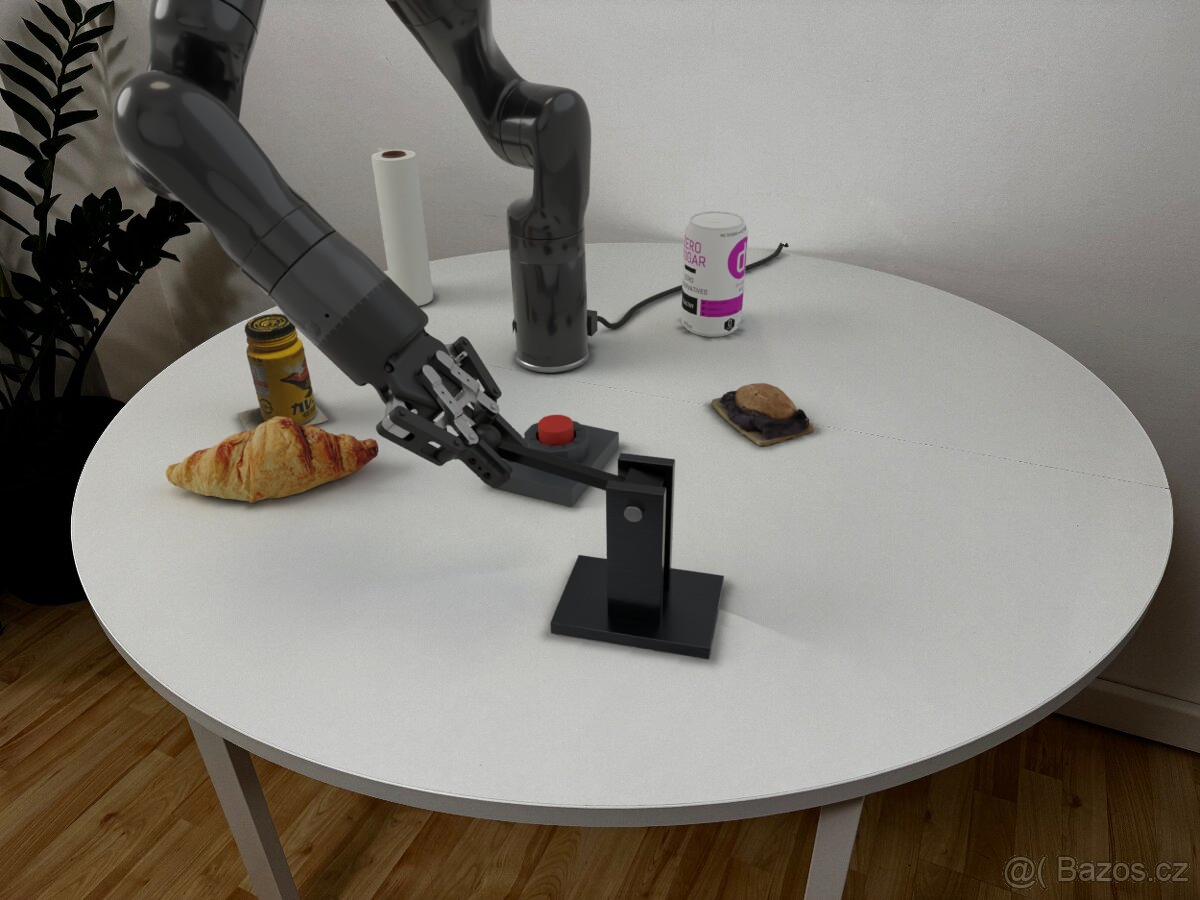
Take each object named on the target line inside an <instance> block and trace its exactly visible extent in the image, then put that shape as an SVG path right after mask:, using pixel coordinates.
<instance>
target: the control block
mask: <svg viewBox="0 0 1200 900" xmlns="http://www.w3.org/2000/svg"><path fill="white" fill-rule="evenodd" d="M544 417H545V416H543V417H542V418H544ZM572 421H573V431H574V438H573V440H572V441H571V442H569V443H567V444H564V445H556V446H552V445H547V444H543V443H541V442H540V440H539V433H538V422H536V423H533V424H531V425H530V426H529V427H528V428H527V429H526V431H524V433H523V434H524V435H523V436H524V437H523V439H524V440H525V441H526V442H527V443H528V445H529V448H530V449H534V450H537V451H540V452H543V453H547V454H550V455H553V456H556V457H559V458H563V459H566V460H569V461H572V462H576V463H579V464H582V465H585V466H589V467H592V468H595V469H598V470H601V471H603V469H604V467H605V466H606V465H607V464H608V462H609V461H610V460H611V458H612V457H613V456H614V455H615V453H616V452H617V451H618V450H619V448H620V433H619V431H615V430H611V429H606V428H601V427H596V426H591V425H587V424H582V423H580V422H578V421H577V420H572ZM503 460H504V461H505V462H506V463H507V464H508V465H509V466H510V467H511V468H512V469H513V475H512V476H511V478H510V479H509V480H508V481H507V482H506V483H504V484H503V485H502V486H500V487H499V488H496V489H498V490H500V491H505V492H508V493H513V494H518V495H521V496H524V497H529V498H533V499H538V500H540V501H546V502H550V503H553V504H558V505H561V506H565V507H568V508H573V507H574V506H575V504H576V503H577V502H578V501H579V499H580V498H581V496H583V494H584V493H585V492H586V490H587V489H588V488H589V487H590V486H589V485H586V484H582V483H579V482H576V481H573V480H570V479H566V478H563V477H560V476H557V475H554V474H550V473H547V472H544V471H541V470H538V469H534V468H531V467H528V466H525V465H521V464H518V463H515V462H514V463H510V462H508V461H507V460H505V459H503Z"/></svg>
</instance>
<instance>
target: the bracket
mask: <svg viewBox="0 0 1200 900" xmlns="http://www.w3.org/2000/svg"><path fill="white" fill-rule="evenodd" d="M630 468H634V469H637V470H640V471H643V472H647V473H650V474H653V475H656V476H660V477H663V478H664V481H663V485H662V487H657V486H649V485H641V484H633V483H625V482H617V481H608V483H607V486H606V491H605V529H606V530H605V534H606V536H605V537H606V541H605V543H606V558H603V557H598V556H592V555H591V556H589V555H583V554H578V555H577V558H576V560H575V562H574V565H573V567H572V570H571V572H570V574H569V577H568V580H567V582H566V584H565V586H564V589H563V591H562V593H561V596H560V599H559V600H558V603H557V606H556V607H555V610H554V612H553V614H552V618H551V620H550V622H549V624H550V625H549V626H550V634H551V635H559V636H564V637H570V638H576V639H583V640H589V641H596V642H601V643H606V644H607V643H608V644H612V645H618V646H619V645H620V646H626V647H633V648H637V649H644V650H649V651H656V652H662V653H668V654H673V655H680V656H686V657H691V658H698V659H704V660H710V658H711V653H712V648H713V641H714V637H715V633H716V626H717V621H718V617H719V611H720V605H721V600H722V595H723V591H724V583H725V575H721V574H715V573H710V572H703V571H702V572H701V571H695V570H687V569H681V568H674V567H672V565H673V564H672V560H673V558H672V557H673V537H674V536H673V534H674V533H673V532H674V530H673V529H674V508H675V507H674V506H675V502H674V501H675V478H676V459H675V458H669V457H659V456H651V455H643V454H642V455H641V454H635V453H626V452H620V453H619V455H618V458H617V475H618V476H621V477H624V478H626V476H627V474H628V471H629V469H630Z"/></svg>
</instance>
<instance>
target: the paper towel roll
mask: <svg viewBox="0 0 1200 900" xmlns="http://www.w3.org/2000/svg"><path fill="white" fill-rule="evenodd" d="M417 158H418V157H417V153H416V152H415V151H413V150H409V149H402V148H383V147H378V151H377V152H375V153H373V154H371V164H372V170H373V177H374V178H373V179H374V185H375V193H376V197H377V198H376V200H377V205H378V211H379V212H378V213H379V217H380V225H381V233H382V237H383V245H384V246H383V247H384V253H385V258H386V266H387V272H388V273H387V274H388V276H389V277H390V278H391V279H392V280H393V281H394V282H395V283H396V284H397V285H398V286H399V287H400V288H401V289H402V290H403V291H404V292H405V293H406V294H407V295H408V296H409V297H410V298H411V299H412V300H413V301H414V302H415V303H416V304H417V305H418V306H419V307H420V306H424V305H426V304H429V303H431V302H432V301H433V300H434V292H433V291H434V290H433V284H432V282H433V281H432V275H431V268H430V267H431V266H430V265H431V264H430V258H429V250H428V249H429V248H428V240H427V233H426V232H427V231H426V226H425V218H424V209H423V200H422V193H421V185H420V184H421V183H420V175H419V166H418V159H417Z"/></svg>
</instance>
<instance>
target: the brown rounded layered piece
mask: <svg viewBox="0 0 1200 900" xmlns="http://www.w3.org/2000/svg"><path fill="white" fill-rule="evenodd" d="M710 405H711V407H713V409H714V410H715V411H716V412H717V413H718V415H720V417H722V418H723V420H725V421H726V422H727V423H728V424H729V425H730V426H732V428H734V429H735V430H737V431H738V432H740V435H741V436H745V437H746V438H747V439H749V440H750V441H751V442H752V443H753V444H755V445H757V446H759V447H764V446H765V447H766V446H767V447H770V445H774V444H777V443H784V442H786V440H789V439H793V440H794V439H797V438H799V437H801V436H804V435H807V434H811V433H814V431H815V429H814V426H813V425H812V424H811V423H810V418H808V416H807V414H806V412H805V411H804V410H803V409H800V408H797V407H796V405H795V403H794V402H793V400H792V399H790V397H789V396H788V395H787V394H786V393H785V392H784V391H783V390H782V389H780V388H779V387H777V386H774V385H772V384H769V383H766V382H758V383H750V384H747V385H742V386H740V387H739V388H737V389H736V390H730V391H727V392H726V393H724V394H723V395H722V396H721V397H717V398H713V399H712V400H711V402H710Z"/></svg>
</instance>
